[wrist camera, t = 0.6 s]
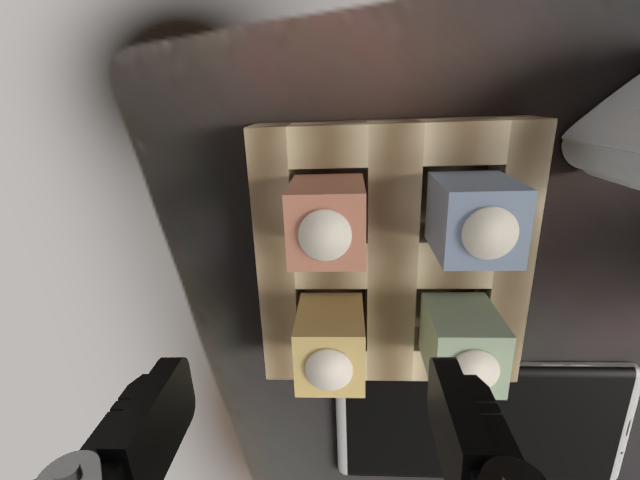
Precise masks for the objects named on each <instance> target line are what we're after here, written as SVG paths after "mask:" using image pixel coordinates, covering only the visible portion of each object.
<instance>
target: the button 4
mask: <svg viewBox="0 0 640 480" xmlns="http://www.w3.org/2000/svg"><path fill="white" fill-rule="evenodd" d="M515 345H516V336H515V335H514V334H513V332H512V331H511V329H510V328H509V326H508V325H507V324H506V322H505V321H504V319H503V318H502V316H501V315H500V313H499V312H498V311H497V309H496V308H495V306H494V305H493V303H492V302H491V300H490V299H489V298H488V296H487V295H486V293H485V292H421V309H420V327H419V349H420V352H421V356H422V359H423V363H424V366H425V370H426V373H427V377H428V374H429V360H430V357H456V358H457V360H458V362H459V365H460V367H461V370H462V372H463V374H464V375H477V376H478V377H479V378H480V379H481V380H482V381H483V382H485V383H486V384H487V385H488V386H489V387H490V389H491V391H492V394H493V396H494V398H495V400H507V399H508V392H509V385H510V379H511V372H512V365H513V358H514V351H515Z"/></svg>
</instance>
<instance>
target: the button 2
mask: <svg viewBox="0 0 640 480" xmlns="http://www.w3.org/2000/svg"><path fill="white" fill-rule="evenodd" d="M291 342H292V357H293V373H294V388H295V397H315V398H365V362H366V336H365V323H364V311H363V299H362V293H301V295H300V299H299V304H298V308H297V313H296V317H295V322H294V326H293V331H292V336H291Z"/></svg>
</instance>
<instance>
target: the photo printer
mask: <svg viewBox="0 0 640 480" xmlns="http://www.w3.org/2000/svg"><path fill="white" fill-rule="evenodd" d="M562 139H563V141H562V153H563V156H564V158H565V159H566V161H567V162H568V163H569V164H570V165H572V166H573V167H576V168H579V169H582V170H584V172H585V173H587V174H589V175H592V176H595V177H598V178H601V179H604V180H608V181H611V182H614V183H617V184H620V185H624V186H627V187H630V188H633V189H636V190H639V191H640V74H639V75H637V76H636V77H635V78H633V79H632V80H630V81H629V82H628V83H626V84H625V85H624V86H622V87H621V88H620V89H618V90H617V91H616V92H614V93H613V94H612V95H610V96H609V97H608V98H606V99H605V100H604V101H603V102H601V103H600V104H599V105H597V106H596V107H595V108H594V109H592V110H591V111H590V112H589V113H587V114H586V115H585V116H583V117H582V118H581V119H580V120H579V121H577V122H576V123H575V124H574V125H573V126H571V127H570V128H569V129H568V130H567V131H566V132H565V133H564V135H563V136H562Z"/></svg>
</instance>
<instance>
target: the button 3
mask: <svg viewBox="0 0 640 480" xmlns="http://www.w3.org/2000/svg"><path fill="white" fill-rule="evenodd" d="M537 195H538V190H536V189H534V188H532V187H530V186H528V185H526V184H524V183H522V182H521V181H519V180H517V179H515V178H513V177H511V176H509V175H507V174H505V173H503V172H501V171H499V170H487V171H440V172H428V184H427V202H426V219H425V238H426V240H427V242H428V244H429V246H430V247H431V249H432V251H433V253H434V255H435V257H436V258H437V260H438V262H439V264H440V266H441V268H442V269H443V271H526V270H527V263H528V256H529V250H530V243H531V236H532V229H533V223H534V216H535V209H536V202H537Z"/></svg>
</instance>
